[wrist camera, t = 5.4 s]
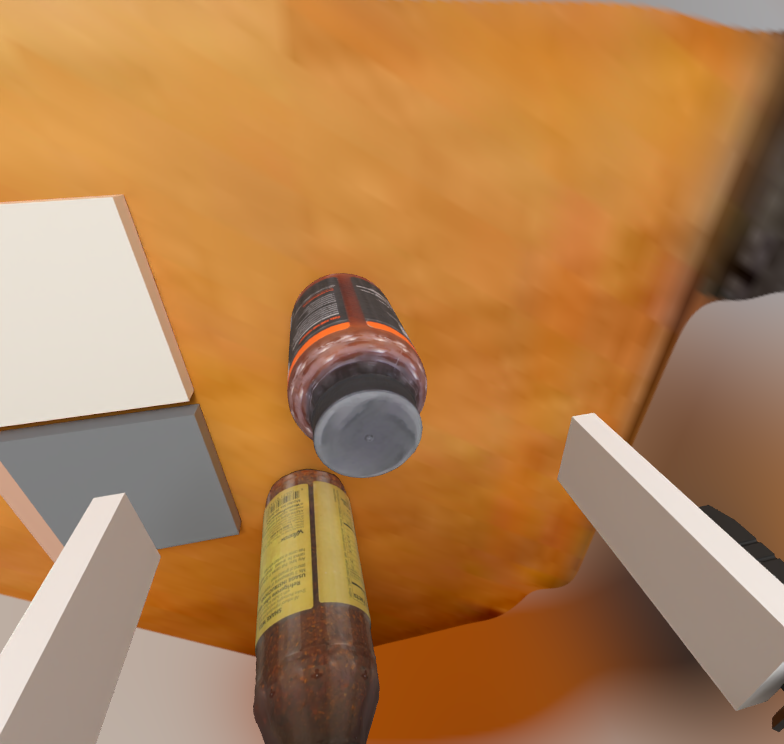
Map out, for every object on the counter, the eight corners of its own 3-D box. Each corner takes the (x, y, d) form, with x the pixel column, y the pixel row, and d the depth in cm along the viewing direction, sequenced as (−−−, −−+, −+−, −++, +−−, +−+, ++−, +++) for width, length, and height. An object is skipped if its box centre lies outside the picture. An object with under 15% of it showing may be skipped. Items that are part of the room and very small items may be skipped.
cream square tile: (123, 194, 18) (112, 197, 17) (193, 390, 24) (188, 401, 23) (-186, 214, 17) (-218, 218, 16) (-32, 420, 22) (-48, 433, 21)
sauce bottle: (265, 523, 30) (213, 990, 14) (267, 463, 28) (205, 959, 11) (347, 521, 32) (394, 934, 15) (357, 463, 29) (429, 894, 12)
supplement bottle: (276, 342, 23) (255, 478, 14) (315, 251, 21) (323, 336, 12) (364, 375, 26) (399, 511, 16) (408, 296, 23) (479, 398, 14)
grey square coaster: (198, 403, 24) (194, 414, 23) (241, 520, 30) (239, 534, 29) (-22, 434, 23) (-37, 447, 22) (67, 552, 28) (58, 567, 27)
